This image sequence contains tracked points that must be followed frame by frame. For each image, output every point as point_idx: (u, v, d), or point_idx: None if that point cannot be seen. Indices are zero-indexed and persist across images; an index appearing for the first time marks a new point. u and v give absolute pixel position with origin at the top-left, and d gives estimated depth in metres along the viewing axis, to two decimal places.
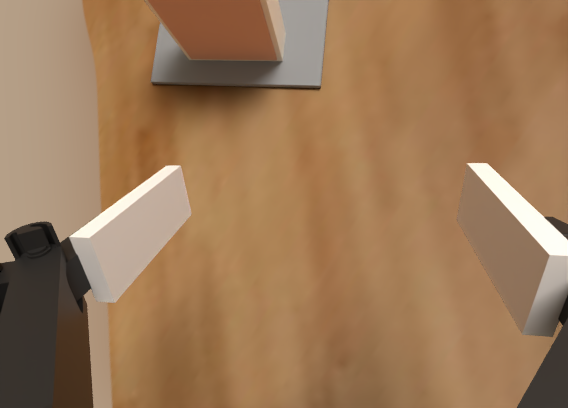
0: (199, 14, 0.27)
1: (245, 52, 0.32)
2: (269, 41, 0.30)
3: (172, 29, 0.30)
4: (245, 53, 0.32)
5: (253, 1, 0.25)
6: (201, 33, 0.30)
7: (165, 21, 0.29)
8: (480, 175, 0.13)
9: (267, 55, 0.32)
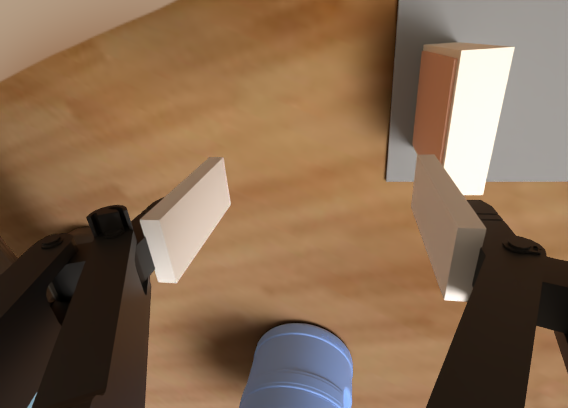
0: (432, 103, 0.27)
1: (417, 119, 0.33)
2: (417, 151, 0.32)
3: (432, 57, 0.27)
4: (417, 118, 0.33)
5: None
6: (427, 88, 0.29)
7: (435, 56, 0.26)
8: (424, 164, 0.14)
9: (414, 139, 0.34)
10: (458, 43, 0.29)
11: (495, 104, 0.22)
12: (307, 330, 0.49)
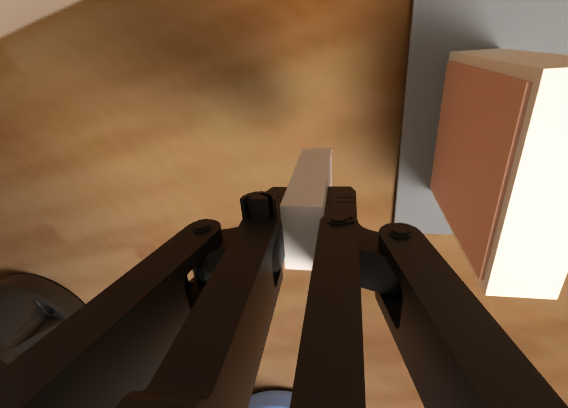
0: (469, 145, 0.17)
1: (439, 156, 0.23)
2: (439, 202, 0.23)
3: (469, 73, 0.18)
4: (438, 155, 0.23)
5: (461, 238, 0.18)
6: (458, 118, 0.19)
7: (476, 73, 0.17)
8: (316, 156, 0.16)
9: (433, 181, 0.25)
10: (505, 50, 0.19)
11: None
12: None
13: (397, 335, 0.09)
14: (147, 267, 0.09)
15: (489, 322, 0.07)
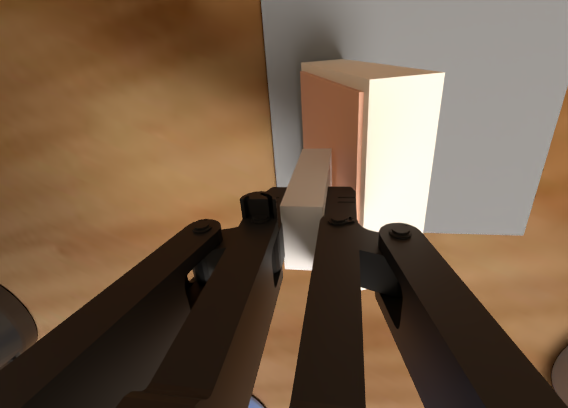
0: None
1: None
2: None
3: (317, 83, 0.19)
4: None
5: None
6: (316, 125, 0.20)
7: (323, 83, 0.18)
8: (316, 156, 0.16)
9: None
10: (346, 61, 0.21)
11: (424, 159, 0.14)
12: None
13: (397, 335, 0.09)
14: (147, 267, 0.09)
15: (489, 322, 0.07)
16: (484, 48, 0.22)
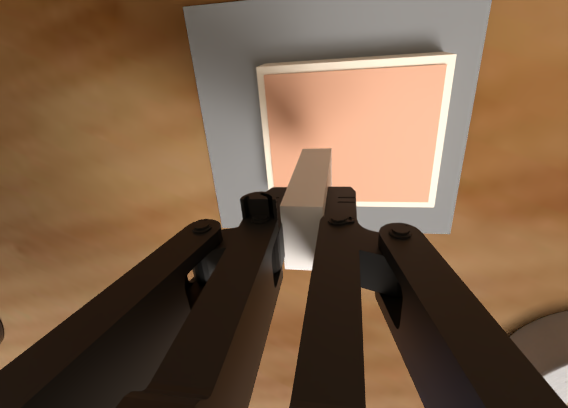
0: (367, 128, 0.22)
1: (289, 164, 0.24)
2: None
3: (338, 75, 0.21)
4: (287, 164, 0.24)
5: (384, 196, 0.24)
6: (329, 117, 0.22)
7: (355, 73, 0.20)
8: (316, 156, 0.16)
9: None
10: (301, 61, 0.23)
11: None
12: None
13: (397, 335, 0.09)
14: (147, 267, 0.09)
15: (489, 322, 0.07)
16: (394, 53, 0.22)
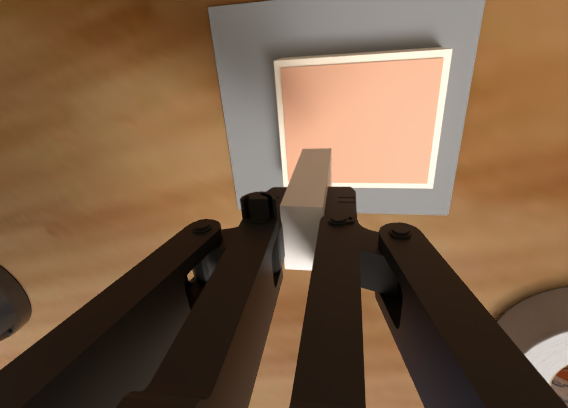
0: (372, 116, 0.24)
1: (301, 149, 0.27)
2: None
3: (346, 68, 0.23)
4: (299, 148, 0.27)
5: (387, 178, 0.26)
6: (338, 105, 0.24)
7: (362, 66, 0.23)
8: (316, 156, 0.16)
9: None
10: (313, 56, 0.26)
11: None
12: None
13: (397, 335, 0.09)
14: (147, 267, 0.09)
15: (489, 322, 0.07)
16: (398, 48, 0.25)
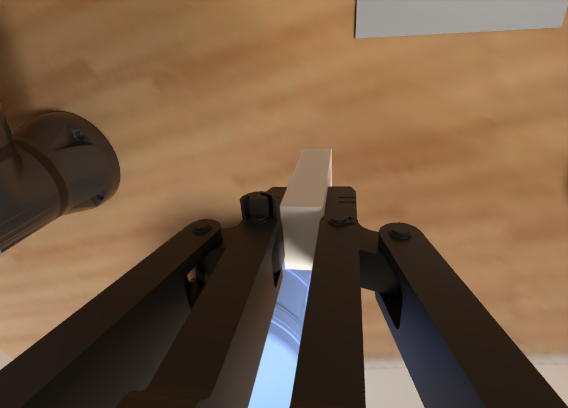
0: None
1: None
2: None
3: None
4: None
5: None
6: None
7: None
8: (316, 156, 0.16)
9: None
10: None
11: None
12: None
13: (397, 335, 0.09)
14: (147, 267, 0.09)
15: (489, 322, 0.07)
16: None
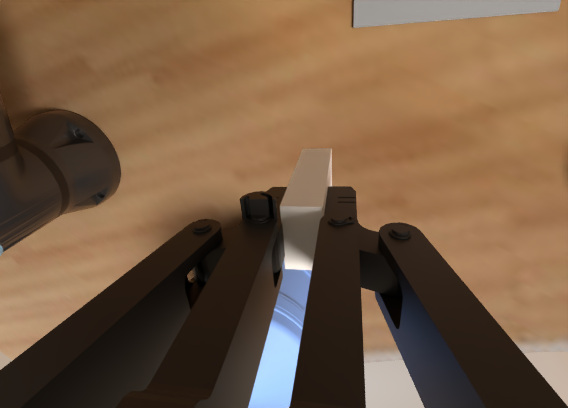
0: None
1: None
2: None
3: None
4: None
5: None
6: None
7: None
8: (316, 156, 0.16)
9: None
10: None
11: None
12: None
13: (397, 335, 0.09)
14: (147, 267, 0.09)
15: (489, 322, 0.07)
16: None
